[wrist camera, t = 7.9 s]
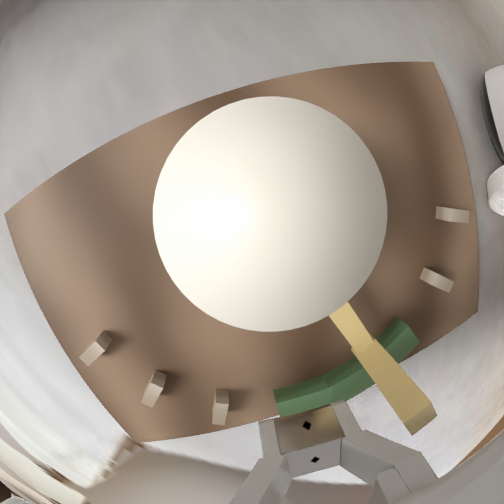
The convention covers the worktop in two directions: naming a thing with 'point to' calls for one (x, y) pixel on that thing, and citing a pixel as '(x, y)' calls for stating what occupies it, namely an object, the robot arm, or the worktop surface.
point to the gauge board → (219, 333)
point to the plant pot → (4, 492)
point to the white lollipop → (280, 227)
